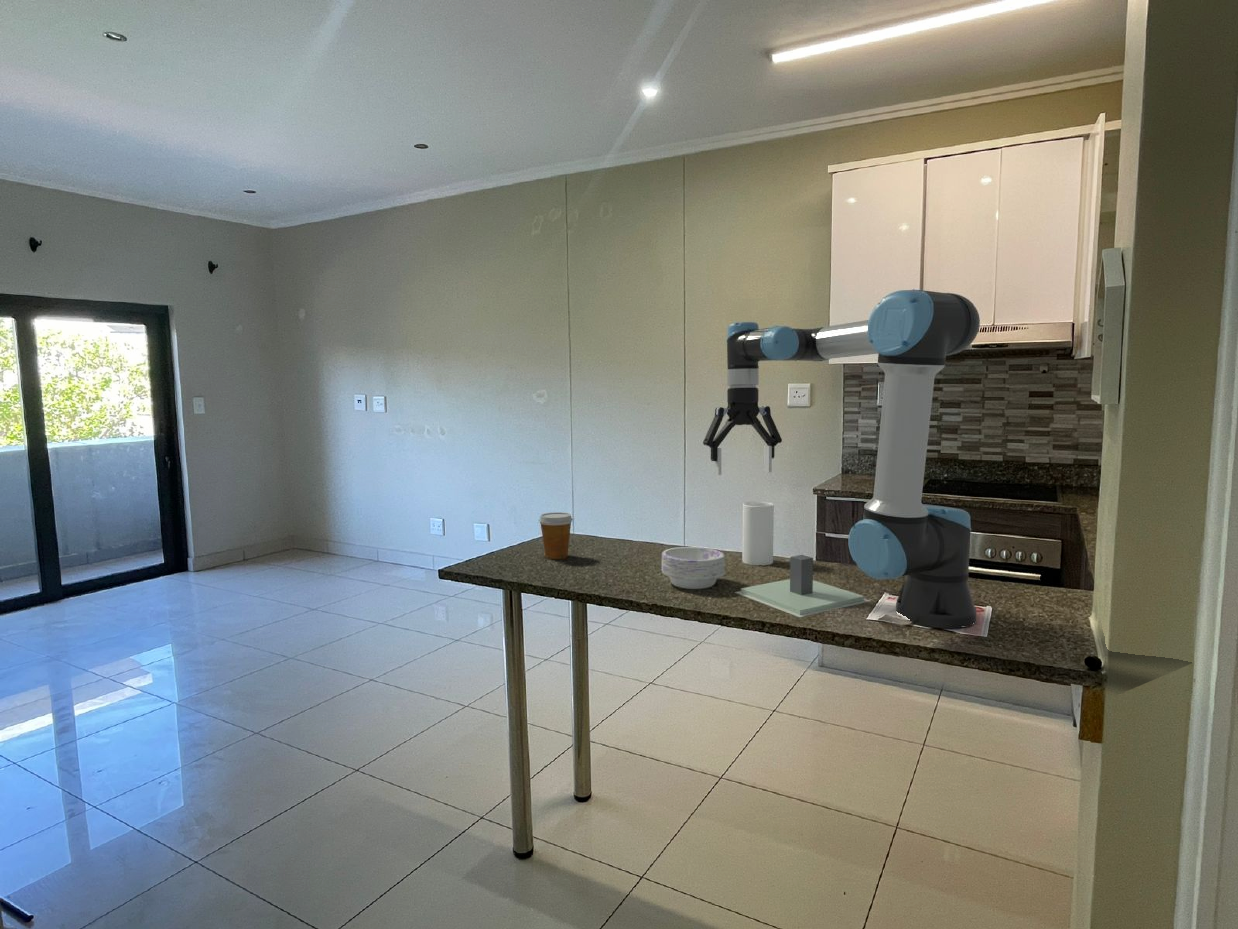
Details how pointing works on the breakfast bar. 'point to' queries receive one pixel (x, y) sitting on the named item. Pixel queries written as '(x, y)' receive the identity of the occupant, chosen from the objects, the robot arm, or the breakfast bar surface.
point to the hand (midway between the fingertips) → (742, 473)
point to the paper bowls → (693, 566)
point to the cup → (758, 533)
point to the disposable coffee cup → (556, 534)
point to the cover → (802, 590)
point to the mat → (802, 614)
